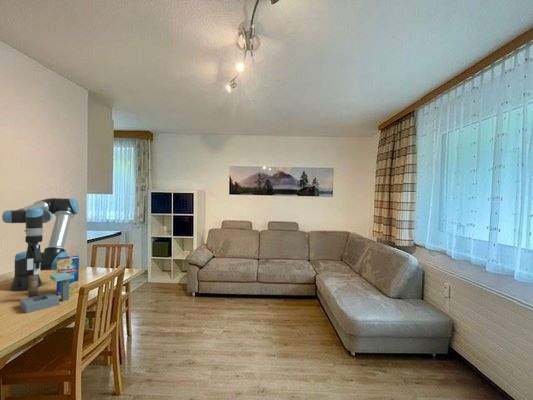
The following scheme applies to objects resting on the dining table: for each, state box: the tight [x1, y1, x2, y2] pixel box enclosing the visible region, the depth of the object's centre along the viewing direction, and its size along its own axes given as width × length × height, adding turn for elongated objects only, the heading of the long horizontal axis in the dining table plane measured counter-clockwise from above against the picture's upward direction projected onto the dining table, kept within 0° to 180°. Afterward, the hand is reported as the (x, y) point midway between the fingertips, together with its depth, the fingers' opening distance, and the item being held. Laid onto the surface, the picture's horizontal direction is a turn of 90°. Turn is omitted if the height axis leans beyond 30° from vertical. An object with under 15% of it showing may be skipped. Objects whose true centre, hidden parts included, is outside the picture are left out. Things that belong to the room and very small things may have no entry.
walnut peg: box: [27, 274, 40, 298], centre depth 158 cm, size 4×4×14 cm
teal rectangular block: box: [49, 272, 71, 302], centre depth 158 cm, size 9×8×15 cm
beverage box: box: [55, 255, 80, 297], centre depth 170 cm, size 7×11×22 cm, turn 126°
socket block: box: [19, 292, 60, 314], centre depth 150 cm, size 12×14×4 cm
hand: (33, 272), depth 157 cm, fingers open, 13 cm apart
